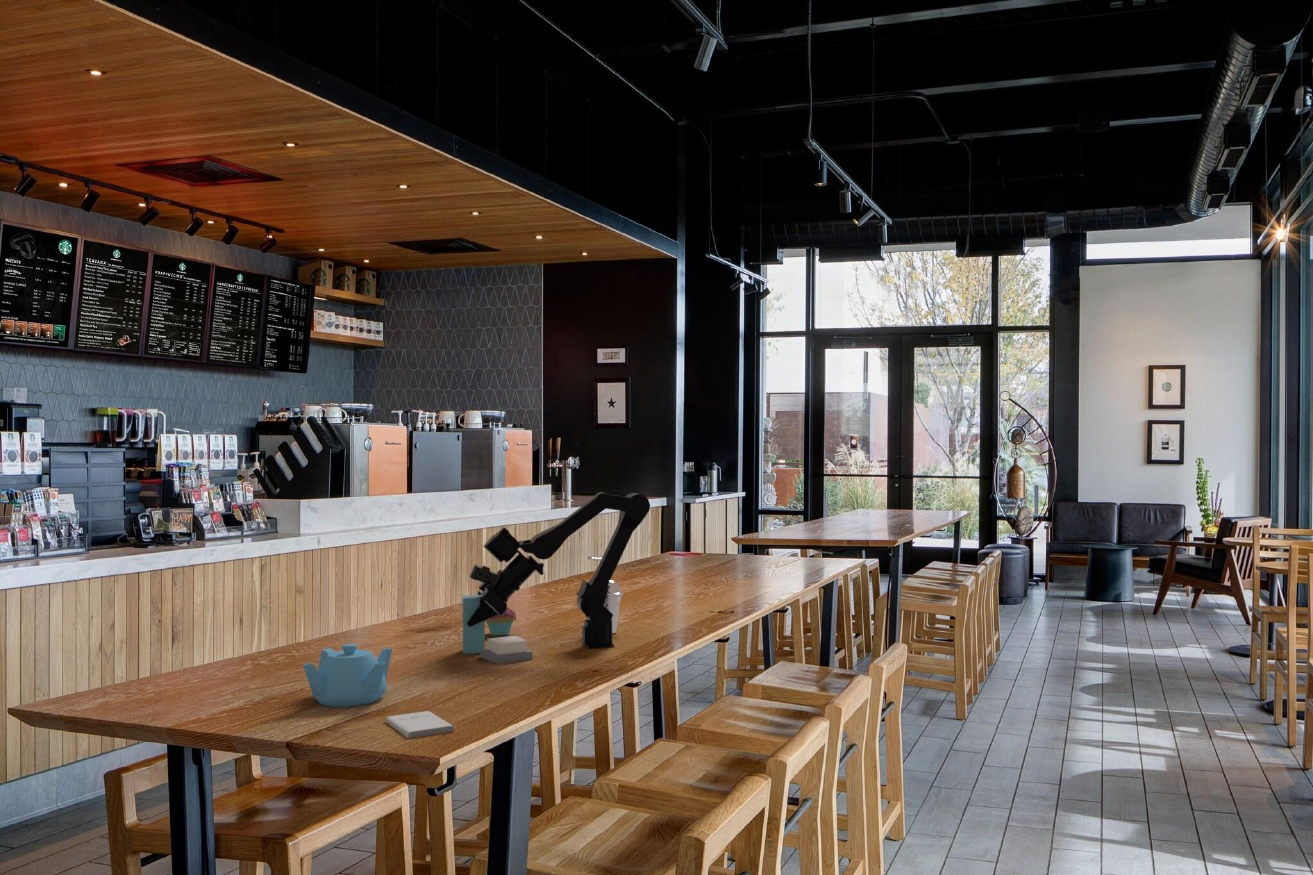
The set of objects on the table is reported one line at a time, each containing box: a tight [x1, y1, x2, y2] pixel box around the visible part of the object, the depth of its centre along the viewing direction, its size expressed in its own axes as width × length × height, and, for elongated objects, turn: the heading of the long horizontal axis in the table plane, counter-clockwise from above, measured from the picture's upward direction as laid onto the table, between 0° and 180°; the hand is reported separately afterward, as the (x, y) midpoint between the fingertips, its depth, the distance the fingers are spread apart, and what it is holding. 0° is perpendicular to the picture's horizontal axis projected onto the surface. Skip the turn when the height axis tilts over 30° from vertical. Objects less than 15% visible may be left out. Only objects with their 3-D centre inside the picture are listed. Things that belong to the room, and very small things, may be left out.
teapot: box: [302, 643, 393, 708], centre depth 208 cm, size 15×15×11 cm
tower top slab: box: [487, 635, 528, 655], centre depth 246 cm, size 7×7×2 cm
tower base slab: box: [479, 648, 534, 665], centre depth 246 cm, size 9×9×2 cm
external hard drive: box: [385, 710, 455, 739], centre depth 188 cm, size 2×8×12 cm
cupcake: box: [485, 607, 517, 637], centre depth 277 cm, size 9×8×12 cm
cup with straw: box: [587, 556, 624, 634], centre depth 279 cm, size 8×9×20 cm
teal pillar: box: [461, 594, 486, 655], centre depth 254 cm, size 5×5×13 cm
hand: (467, 623), depth 254 cm, fingers closed on teal pillar, 5 cm apart
